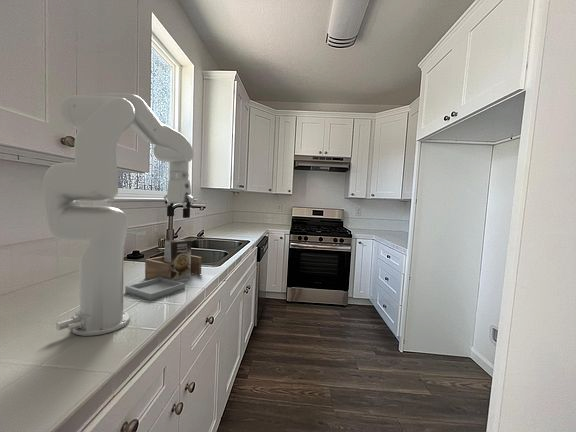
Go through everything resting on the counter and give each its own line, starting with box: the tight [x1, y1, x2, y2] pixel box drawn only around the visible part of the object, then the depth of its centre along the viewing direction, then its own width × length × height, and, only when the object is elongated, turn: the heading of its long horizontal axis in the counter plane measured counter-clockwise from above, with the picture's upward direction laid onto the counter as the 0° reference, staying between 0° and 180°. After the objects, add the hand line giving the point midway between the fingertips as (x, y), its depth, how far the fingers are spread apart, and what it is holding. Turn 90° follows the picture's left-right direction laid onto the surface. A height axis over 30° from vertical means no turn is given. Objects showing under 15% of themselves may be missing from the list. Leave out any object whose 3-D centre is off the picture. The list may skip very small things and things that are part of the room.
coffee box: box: [163, 238, 192, 281], centre depth 116 cm, size 9×6×16 cm
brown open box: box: [144, 254, 203, 280], centre depth 117 cm, size 17×14×8 cm
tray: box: [124, 277, 186, 302], centre depth 99 cm, size 14×14×2 cm
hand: (178, 217), depth 115 cm, fingers open, 9 cm apart
